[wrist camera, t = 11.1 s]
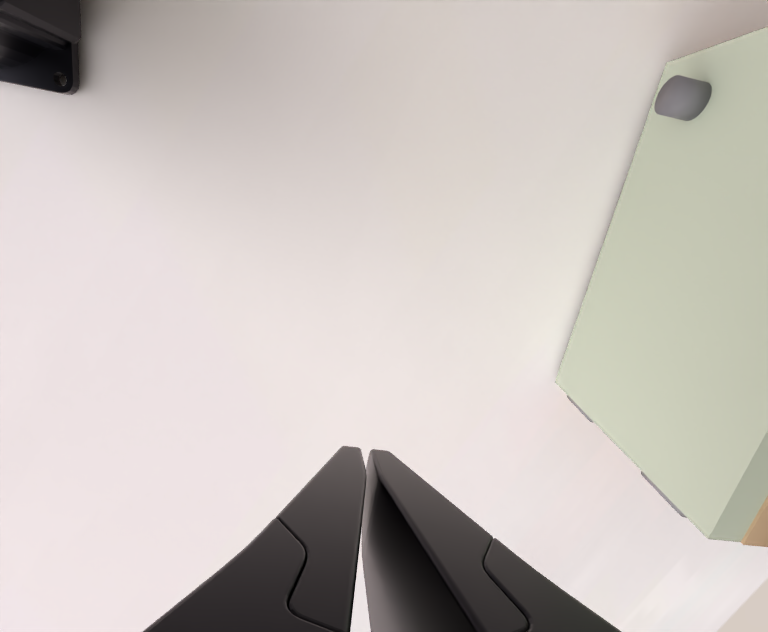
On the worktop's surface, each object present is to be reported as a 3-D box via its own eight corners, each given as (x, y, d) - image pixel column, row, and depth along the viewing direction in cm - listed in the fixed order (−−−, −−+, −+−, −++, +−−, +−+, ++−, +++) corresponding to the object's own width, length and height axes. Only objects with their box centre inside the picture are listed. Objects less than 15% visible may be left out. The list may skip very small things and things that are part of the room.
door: (532, 386, 23) (668, 546, 13) (642, 56, 18) (995, -89, 8) (571, 391, 24) (734, 552, 14) (690, 68, 18) (1089, -56, 8)
